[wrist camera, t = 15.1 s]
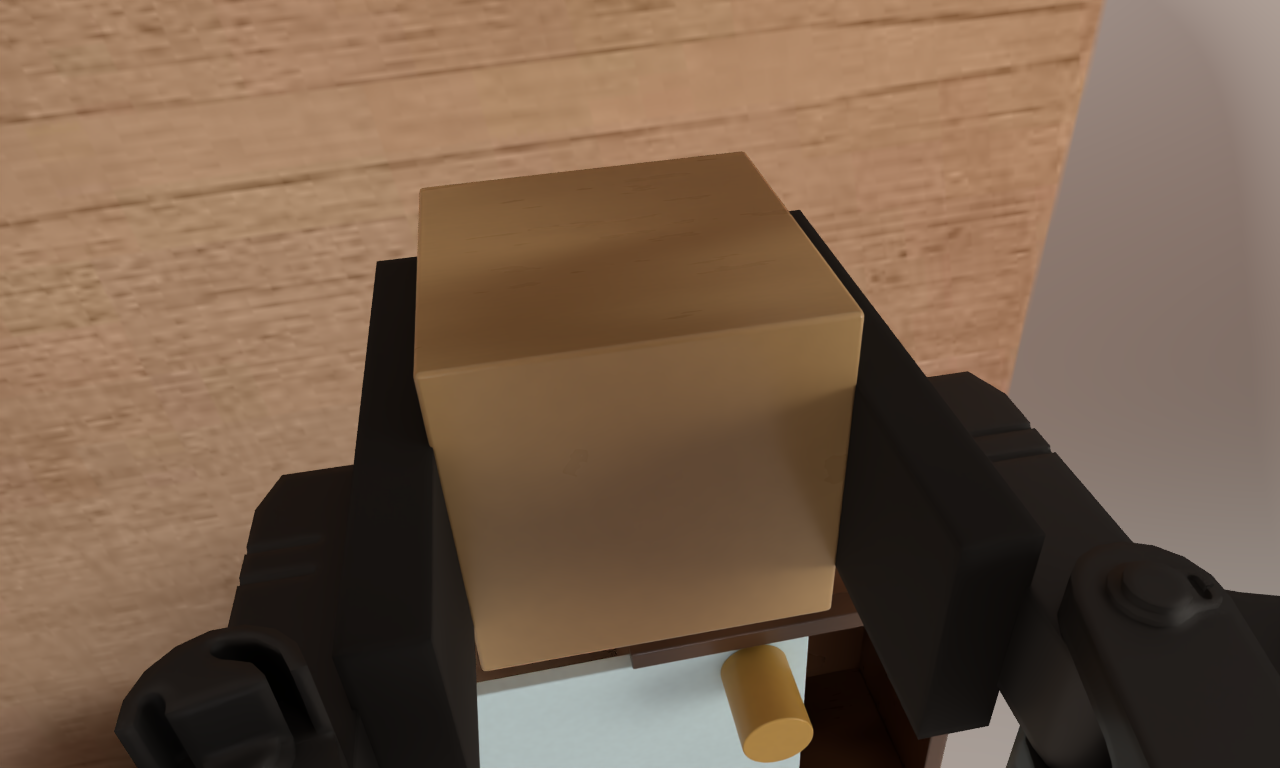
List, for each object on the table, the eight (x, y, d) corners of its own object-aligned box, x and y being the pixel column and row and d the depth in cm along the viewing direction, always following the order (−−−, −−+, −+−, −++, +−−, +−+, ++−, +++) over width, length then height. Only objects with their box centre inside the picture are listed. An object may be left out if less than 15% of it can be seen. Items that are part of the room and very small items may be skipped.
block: (744, 149, 12) (867, 312, 9) (739, 405, 15) (833, 612, 12) (418, 186, 12) (411, 375, 8) (470, 446, 15) (481, 674, 11)
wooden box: (897, 426, 39) (1002, 585, 32) (865, 670, 49) (940, 835, 41) (594, 476, 37) (630, 655, 30) (623, 717, 47) (657, 896, 40)
